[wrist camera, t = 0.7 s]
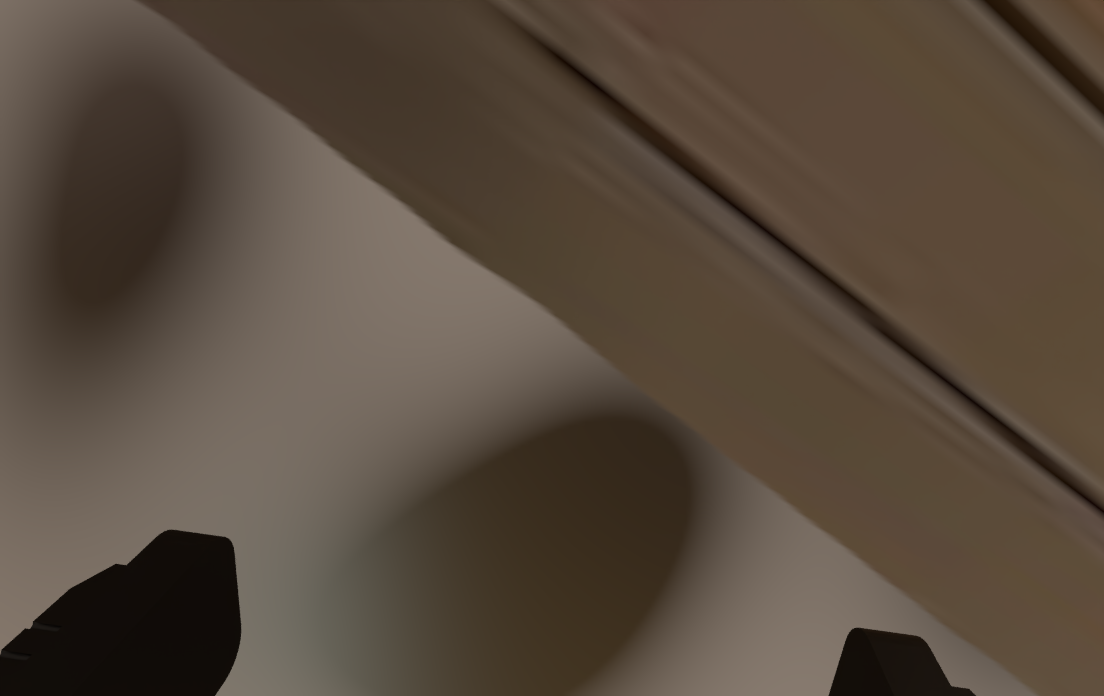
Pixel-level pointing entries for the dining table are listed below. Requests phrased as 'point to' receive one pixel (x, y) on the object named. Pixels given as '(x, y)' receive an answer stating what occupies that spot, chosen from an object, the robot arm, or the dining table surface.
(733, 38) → the dining table surface
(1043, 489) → the dining table surface
